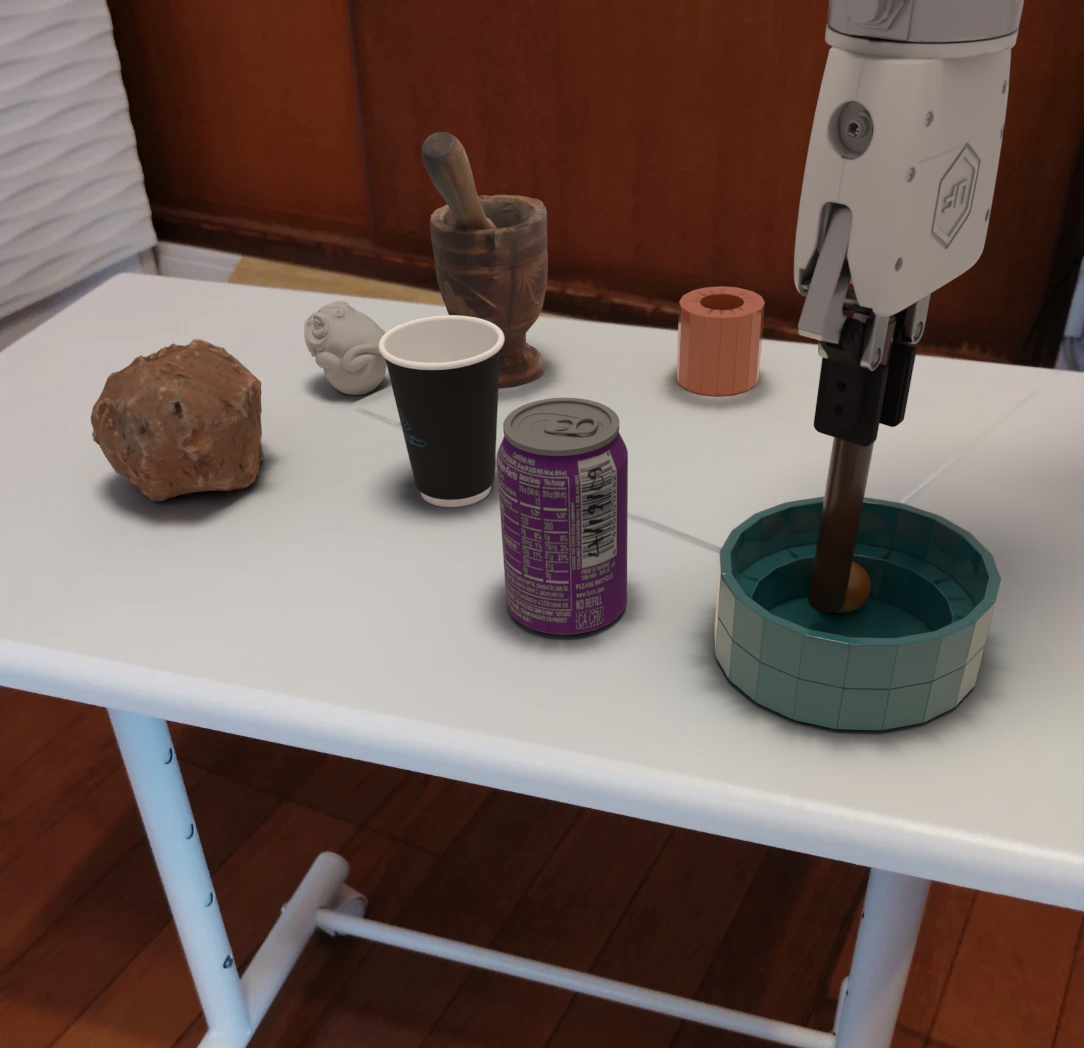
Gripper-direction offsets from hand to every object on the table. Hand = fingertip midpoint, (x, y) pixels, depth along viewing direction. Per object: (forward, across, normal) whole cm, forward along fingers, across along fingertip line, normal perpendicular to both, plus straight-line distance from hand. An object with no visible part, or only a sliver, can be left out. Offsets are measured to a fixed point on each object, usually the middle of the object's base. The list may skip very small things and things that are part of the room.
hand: (858, 425), depth 59 cm
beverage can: (+13, -7, +13) cm, 20 cm away
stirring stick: (+11, 0, 0) cm, 11 cm away
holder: (+13, +23, +23) cm, 35 cm away
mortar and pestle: (+13, +13, +37) cm, 42 cm away
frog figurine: (+13, +6, +46) cm, 49 cm away
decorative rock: (+14, -11, +44) cm, 48 cm away
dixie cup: (+13, -1, +28) cm, 31 cm away
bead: (+11, +2, 0) cm, 11 cm away
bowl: (+13, -1, -2) cm, 13 cm away
